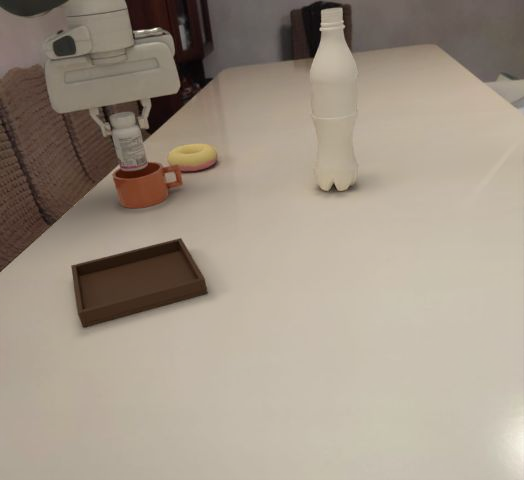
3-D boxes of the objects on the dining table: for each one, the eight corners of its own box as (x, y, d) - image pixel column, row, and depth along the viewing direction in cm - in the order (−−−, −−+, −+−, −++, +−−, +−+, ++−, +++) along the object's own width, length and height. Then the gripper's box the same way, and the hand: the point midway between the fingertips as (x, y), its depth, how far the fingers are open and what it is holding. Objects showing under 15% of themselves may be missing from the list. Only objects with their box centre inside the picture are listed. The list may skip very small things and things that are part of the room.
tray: (83, 327, 62) (77, 313, 61) (75, 278, 72) (71, 265, 71) (207, 293, 65) (204, 279, 64) (183, 250, 75) (181, 237, 74)
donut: (200, 185, 102) (227, 162, 107) (197, 163, 98) (225, 140, 103) (160, 173, 106) (188, 151, 111) (155, 151, 102) (184, 130, 107)
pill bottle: (120, 165, 92) (107, 113, 87) (148, 160, 93) (136, 109, 88) (120, 173, 88) (106, 120, 83) (148, 169, 89) (136, 116, 84)
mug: (123, 212, 90) (115, 183, 87) (117, 196, 96) (109, 168, 93) (189, 196, 92) (183, 168, 89) (178, 182, 99) (173, 155, 96)
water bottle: (310, 194, 87) (300, 15, 72) (319, 178, 92) (312, 8, 77) (354, 194, 85) (353, 10, 70) (361, 178, 90) (361, 3, 75)
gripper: (166, 23, 83) (182, 116, 92) (32, 43, 79) (62, 139, 87) (175, 26, 79) (191, 124, 87) (32, 47, 74) (64, 148, 83)
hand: (125, 132), depth 87 cm, fingers closed on pill bottle, 5 cm apart
